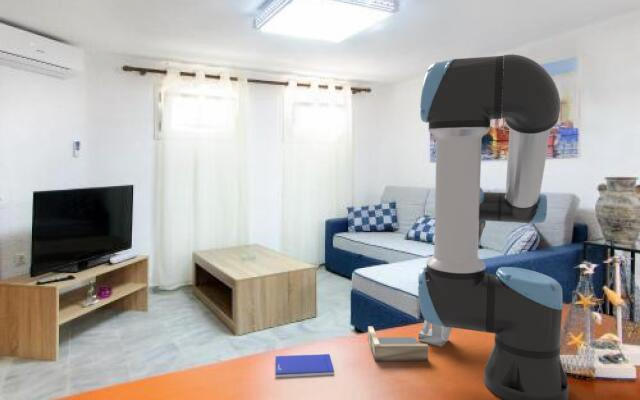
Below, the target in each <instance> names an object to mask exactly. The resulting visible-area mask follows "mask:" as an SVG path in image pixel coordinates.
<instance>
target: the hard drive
mask: <svg viewBox="0 0 640 400" xmlns="http://www.w3.org/2000/svg"><path fill="white" fill-rule="evenodd" d="M274 358H275V360H274V362H275V363H274V364H275V366H274V367H275V368H274V369H275V370H274V371H275V375H274V376H275V378H288V377H289V378H291V377H295V378H296V377H309V376H310V377H312V376H313V377H314V376H330V375H335V369H334V366H333V362H332V359H331V358H332V357H331V355H330V353H325V354H299V355H298V354H297V355H276V356H275V357H274Z"/></svg>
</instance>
